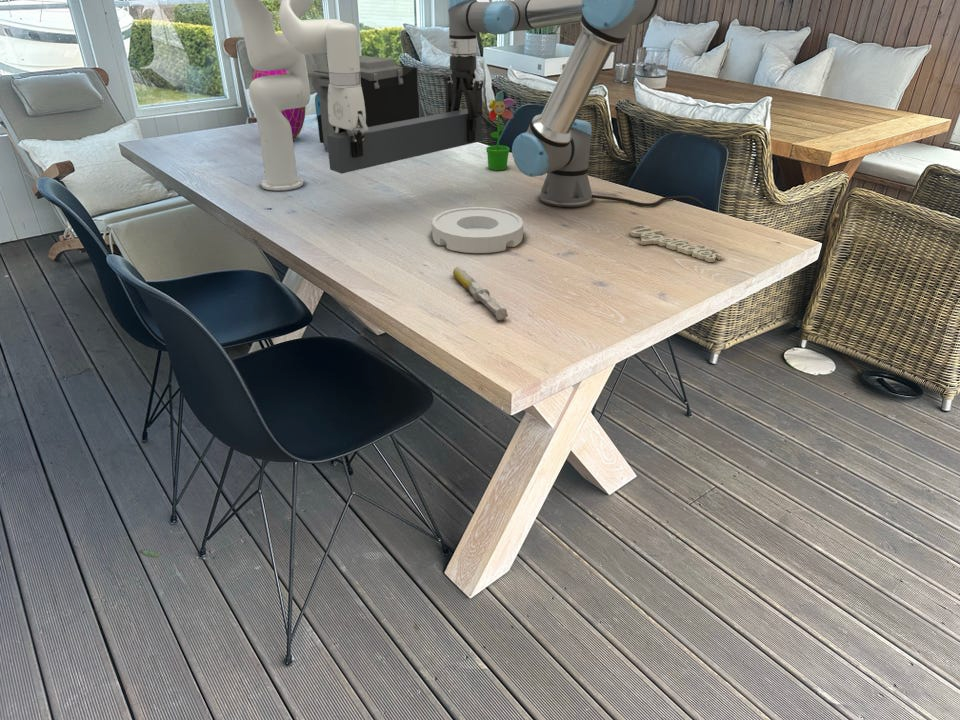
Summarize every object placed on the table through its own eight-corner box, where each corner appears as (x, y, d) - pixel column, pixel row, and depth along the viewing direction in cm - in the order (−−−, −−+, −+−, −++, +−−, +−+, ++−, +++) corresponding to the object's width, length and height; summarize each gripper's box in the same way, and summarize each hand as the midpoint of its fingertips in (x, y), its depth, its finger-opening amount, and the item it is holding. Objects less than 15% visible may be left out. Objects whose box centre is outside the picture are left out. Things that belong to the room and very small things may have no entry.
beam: (469, 138, 209) (470, 108, 204) (481, 141, 206) (482, 110, 201) (329, 169, 177) (326, 134, 172) (341, 173, 174) (338, 138, 169)
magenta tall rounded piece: (293, 132, 276) (283, 50, 261) (319, 140, 264) (310, 56, 249) (249, 139, 265) (236, 54, 250) (273, 148, 253) (261, 60, 238)
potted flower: (491, 172, 228) (493, 92, 215) (480, 166, 234) (481, 88, 221) (516, 168, 232) (519, 90, 219) (504, 163, 238) (506, 86, 225)
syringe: (449, 274, 155) (449, 263, 153) (465, 272, 156) (464, 260, 154) (490, 323, 135) (491, 310, 133) (508, 319, 136) (508, 307, 134)
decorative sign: (617, 232, 177) (640, 223, 183) (616, 235, 177) (640, 227, 183) (706, 262, 160) (729, 252, 166) (705, 266, 160) (728, 255, 166)
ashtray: (436, 220, 186) (436, 206, 184) (521, 222, 186) (522, 207, 184) (428, 252, 166) (427, 236, 164) (523, 254, 166) (524, 238, 164)
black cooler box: (383, 133, 276) (378, 52, 261) (425, 141, 265) (422, 56, 250) (314, 150, 251) (304, 61, 235) (358, 160, 240) (350, 67, 224)
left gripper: (311, 76, 170) (319, 150, 179) (354, 86, 160) (359, 164, 169) (336, 73, 175) (342, 145, 184) (379, 82, 165) (383, 158, 174)
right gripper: (430, 53, 195) (433, 137, 207) (477, 58, 184) (477, 147, 196) (449, 51, 200) (451, 133, 211) (496, 56, 189) (495, 142, 201)
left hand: (350, 153), depth 177 cm, fingers closed on beam, 5 cm apart
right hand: (464, 139), depth 204 cm, fingers closed on beam, 5 cm apart
